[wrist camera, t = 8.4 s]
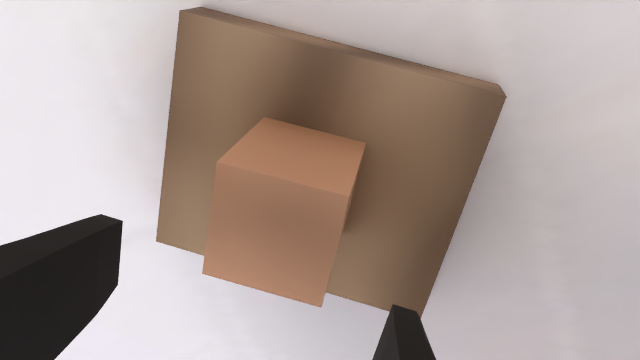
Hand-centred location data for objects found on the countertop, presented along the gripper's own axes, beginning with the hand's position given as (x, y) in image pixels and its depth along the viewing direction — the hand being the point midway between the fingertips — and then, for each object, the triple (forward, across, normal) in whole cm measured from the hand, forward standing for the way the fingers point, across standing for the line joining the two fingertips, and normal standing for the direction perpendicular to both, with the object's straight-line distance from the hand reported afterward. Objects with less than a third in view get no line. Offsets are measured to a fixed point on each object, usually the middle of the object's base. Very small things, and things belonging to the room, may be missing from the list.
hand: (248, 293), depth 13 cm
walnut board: (+10, 0, 0) cm, 10 cm away
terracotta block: (+8, 0, 0) cm, 8 cm away
